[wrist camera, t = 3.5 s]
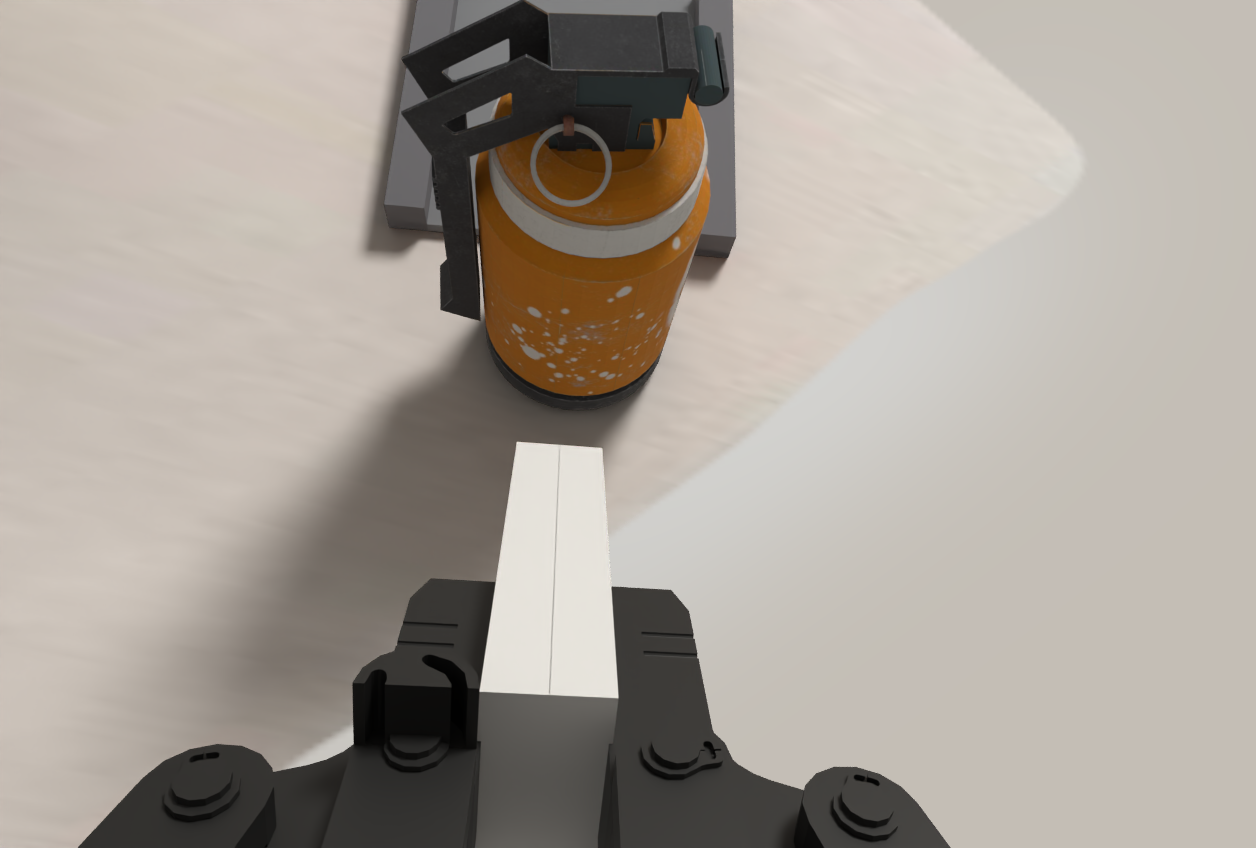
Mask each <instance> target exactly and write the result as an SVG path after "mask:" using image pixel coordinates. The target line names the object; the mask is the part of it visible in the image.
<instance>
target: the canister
mask: <svg viewBox="0 0 1256 848" xmlns="http://www.w3.org/2000/svg"><path fill="white" fill-rule="evenodd" d="M506 39H509V61H508V62H505V63H503V64H500V65H497V66H494V67H491V68H488V69H485V70H482V71H479V72H477V73H474V74H471V75H468V76H465V77H462V78H460V79H457V80H452V79H451V78H450V77H449V76H448V75H446V74H445V73H444V72H443V70H445V69H447V68H449V67H451V66H453V65H455V64H457V63H459V62H461V61H463V60H465V59H467V58H469V57H471V56H473V55H475V54H477V53H479V52H482V51H484V50H486V49H488V48H490V47H492V46H494V45H496V44H498V43H500V42H502V41H504V40H506ZM402 61H403V62H404V64H405V65H406V67H407V68H408V70H409V71H410V73H411V74H412V76H413V77H414V79H415V80H416V82H417V83H418V85H419V86H420V88H421V89H422V91H423V92H424V94H425V95H426V97H427V98H428V99H427V100H425V101H423V102H420V103H418V104H416V105H414V106H412V107H409V108H407V109H405V110H403V111H401V114H402V116H403V117H404V118H405V120H406V121H407V123H408V124H409V125H410V127H411V128H412V130H413V131H414V132H415V134H416V135H417V136H418V138H419V139H420V141H421V142H422V143H423V145H424V146H425V148H426V149H427V150H428V152H429V153H430V154H431V156H432V181H433V188H434V195H435V202H436V209H437V210H440V212H441V220H442V227H443V234H444V241H445V248H446V256H447V260H446V261H445V262H444V263H443V264H442V265H441V266H440V299H441V310H443V311H446V312H450V313H453V314H457V315H460V316H464V317H468V318H471V319H475V320H478V321H481V319H480V278H479V266H478V253H477V240H476V228H475V215H474V203H473V190H472V178H471V165H470V157H471V156H474V155H476V154H479V155H478V159H477V162H476V171H475V189H476V202H477V216H478V229H479V243H480V256H481V270H482V283H483V297H484V310H485V323H486V334H487V343H488V346H489V349H490V353H491V355H492V357H493V359H494V361H495V363H496V365H497V367H498V369H499V370H500V371H501V373H502V374H503V375H504V377H505V378H506V379H507V380H508V381H509V382H510V383H511V384H512V385H513V386H514V387H515V388H517V389H518V390H519V391H521V392H522V393H523V394H525V395H526V396H528V397H530V398H532V399H534V400H536V401H538V402H540V403H543V404H546V405H549V406H552V407H556V408H562V409H567V410H588V409H596V408H600V407H604V406H608V405H611V404H613V403H616V402H618V401H620V400H623V399H624V398H626V397H627V396H629V395H631V394H632V393H634V392H635V391H636V390H637V389H638V388H639V387H641V386H642V385H643V384H644V383H645V382H646V380H647V379H648V378H649V377H650V375H651V374H652V373H653V371H654V369H655V367H656V366H657V364H658V362H659V359H660V356H661V353H662V350H663V347H664V344H665V341H666V338H667V335H668V332H669V329H670V326H671V323H672V320H673V317H674V313H675V310H676V307H677V304H678V301H679V298H680V295H681V292H682V289H683V286H684V283H685V280H686V277H687V274H688V271H689V268H690V265H691V262H692V259H693V256H694V253H695V250H696V247H697V244H698V240H699V237H700V234H701V231H702V228H703V225H704V222H705V219H706V216H707V213H708V210H709V203H710V196H711V195H710V179H709V175H708V170H707V166H706V164H707V157H708V138H707V134H706V130H705V125H704V123H703V120H702V118H701V116H700V113H699V111H698V109H697V107H696V105H698V106H713V105H716V104H718V103H720V102H722V101H723V100H724V99H725V98H726V97H727V96H728V94H729V90H730V89H729V81H728V75H727V69H726V62H725V56H724V49H723V43H722V37H721V32H716V38H714V32H713V30H712V28H710V27H709V26H706V25H699V26H696V27H693V24H692V17H691V15H690V14H689V13H688V12H667V11H661V12H660V13H659V14H658V15H657V16H654V15H617V14H580V13H548V12H546V11H544V10H542V9H541V8H539V7H537V6H536V5H534V4H532V3H530V2H529V1H527V0H519V1H517V2H515V3H513V4H511V5H509V6H507V7H505V8H503V9H501V10H499V11H497V12H495V13H493V14H491V15H489V16H487V17H485V18H482V19H480V20H478V21H476V22H474V23H472V24H470V25H468V26H466V27H464V28H462V29H460V30H458V31H456V32H453V33H451V34H449V35H447V36H445V37H443V38H441V39H439V40H437V41H435V42H433V43H431V44H429V45H427V46H424V47H422V48H420V49H418V50H416V51H414V52H412V53H410V54H408V55H406V56H404V57H402ZM496 99H497V101H496V103H495V105H494V108H493V110H492V114H491V117H490V121H489V122H486V123H483V124H480V125H477V126H474V127H471V128H468V127H467V115H466V113H468V112H470V111H472V110H474V109H476V108H478V107H480V106H483V105H485V104H487V103H489V102H491V101H493V100H496Z"/></svg>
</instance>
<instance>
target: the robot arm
mask: <svg viewBox="0 0 1256 848" xmlns="http://www.w3.org/2000/svg"><path fill="white" fill-rule="evenodd" d="M609 560H610V559H609V544H608V528H607V513H606V498H605V482H604V467H603V452H602V448H596V447H582V446H569V445H555V444H541V443H527V442H517V444H516V451H515V458H514V464H513V471H512V478H511V485H510V491H509V498H508V505H507V511H506V518H505V525H504V531H503V538H502V545H501V551H500V558H499V565H498V571H497V578H496V582H482V581H465V580H448V579H430V580H429V581H428V582H427V583H426V584H425V585H424V586H423V587H422V588H420V589H419V590H418V591H417V592H416V593H415V594H414V595H413V596H412V597H411V598H410V601H409V604H408V608H407V611H406V614H405V618H404V621H403V626H402V628H401V631H400V634H399V638H398V643H397V646H396V648H395V651H394V652H391V653H388V654H384V655H381V656H379V657H378V658H376V659H375V660H373V661H372V662H370V663H369V664H367V665H366V666H364V667H363V668H362V669H361V671H360V672H359V674H358V675H357V677H356V679H355V680H354V682H353V732H354V744H353V745H352V746H351V747H349V748H348V749H347V750H345V751H344V752H342V753H340V754H337V755H335V756H333V757H331V758H329V759H327V760H324V761H320V762H317V763H313V764H310V765H306V766H301V767H296V768H291V769H286V770H281V771H276V772H273V770H272V767H271V766H270V765H269V763H268V762H267V761H266V760H265V759H264V757H263V756H262V755H261V754H259V753H257V752H255V751H252V750H250V749H248V748H245V747H243V746H236V745H221V744H215V745H210V746H205V747H200V748H194V749H190V750H188V751H185V752H183V753H181V754H179V755H176V756H174V757H172V758H170V759H167V760H165V761H164V762H162V763H161V764H160V765H159V766H157V767H156V768H155V769H153V770H152V771H151V772H150V773H148V774H147V775H146V776H145V777H143V778H142V780H141V781H140V782H139V783H138V784H137V785H136V786H135V787H134V788H133V789H132V790H131V791H130V792H129V793H128V794H127V796H126V797H125V798H124V799H123V800H122V801H121V802H120V803H119V804H118V805H117V806H116V807H115V808H114V809H113V810H112V812H111V813H110V814H109V815H108V816H107V817H106V818H105V819H104V820H103V821H102V822H101V823H100V824H99V825H98V826H97V828H96V829H95V830H94V831H93V832H92V833H91V834H90V835H89V836H88V837H87V838H86V839H85V840H84V841H83V842H82V844H81V845H80V846H79V847H78V848H950V846H949V845H948V844H947V842H946V841H945V840H944V838H943V837H942V836H941V834H940V833H939V832H938V830H937V829H936V827H935V826H934V825H933V824H932V822H931V821H930V820H929V818H928V817H927V815H926V814H925V813H924V811H923V810H922V809H921V807H920V806H919V805H918V803H917V802H916V801H915V800H914V799H913V798H912V797H911V796H910V795H909V794H908V793H907V792H906V791H905V790H904V789H903V788H902V787H901V786H899V785H897V784H896V783H894V782H892V781H891V780H889V779H887V778H885V777H884V776H882V775H880V774H878V773H874V772H871V771H867V770H864V769H861V768H857V767H833V768H830V769H827V770H824V771H822V772H819V773H816V774H815V775H814V777H813V778H812V779H811V780H810V781H809V782H808V783H807V784H806V785H805V789H804V790H801V789H798V788H794V787H791V786H787V785H784V784H781V783H778V782H774V781H771V780H768V779H766V778H763V777H761V776H758V775H755V774H753V773H751V772H750V771H748V770H746V769H745V768H743V767H741V766H740V765H738V764H737V763H736V762H734V760H733V759H732V757H731V755H730V753H729V751H728V749H727V747H726V745H725V743H724V742H723V741H722V740H721V739H720V738H719V737H718V736H717V735H716V734H714V732H713V730H712V725H711V719H710V715H709V710H708V704H707V699H706V694H705V689H704V684H703V679H702V674H701V669H700V664H699V659H698V658H697V650H696V644H695V639H693V629H692V624H691V619H690V614H689V611H688V610H687V608H686V607H685V606H684V605H683V604H682V602H681V601H680V600H679V599H678V598H677V596H676V595H675V594H674V593H673V592H672V591H671V590H662V589H644V588H627V587H611V575H610V561H609Z"/></svg>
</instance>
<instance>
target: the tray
mask: <svg viewBox="0 0 1256 848" xmlns="http://www.w3.org/2000/svg"><path fill="white" fill-rule="evenodd" d="M517 1H519V0H417V5H416V11H415V17H414V23H413V29H412V36H411V42H410V48H409V54H410V53H412V52H414V51H416V50H418V49H420V48H422V47H424V46H427V45H429V44H431V43H433V42H435V41H437V40H439V39H441V38H443V37H445V36H447V35H449V34H451V33H453V32H456V31H458V30H460V29H462V28H464V27H466V26H468V25H470V24H472V23H474V22H476V21H478V20H480V19H482V18H485V17H487V16H489V15H491V14H493V13H495V12H497V11H499V10H501V9H503V8H505V7H507V6H509V5H511V4H513V3H515V2H517ZM527 1H529V2H530V3H532V4H534V5H536V6H537V7H539V8H541V9H542V10H544V11H546V12H548V13H580V14H617V15H654V16H657V15H658V14H659V13H660V12H661V11H667V12H688V13H689V14H690V15H691V17H692V24H693V27H696V26H699V25H706V26H709V27H710V28H712V30H713V32H714V38H716V32H721V37H722V43H723V49H724V56H725V62H726V69H727V75H728V81H729V89H730V90H729V94H728V96H727V97H726V98H725V99H724V100H723V101H722V102H720V103H718V104H716V105H713V106H698V105H696V107H697V109H698V111H699V113H700V116H701V118H702V120H703V123H704V125H705V130H706V134H707V138H708V157H707V164H706V166H707V170H708V175H709V179H710V195H711V196H710V203H709V210H708V213H707V216H706V219H705V222H704V225H703V228H702V231H701V234H700V237H699V240H698V244H697V247H696V250H695V253H694V255H699V256H710V257H721V258H728V256H729V254H730V251H731V249H732V246H733V244H734V241H735V239H736V200H735V132H734V63H733V0H527ZM508 61H509V39H506V40H504V41H502V42H500V43H498V44H496V45H494V46H492V47H490V48H488V49H486V50H484V51H482V52H479V53H477V54H475V55H473V56H471V57H469V58H467V59H465V60H463V61H461V62H459V63H457V64H455V65H453V66H451V67H449V68H447V69H445V70H443V72H444V73H445V74H446V75H448V76H449V77H450V78H451V79H452V80H457V79H460V78H462V77H465V76H468V75H471V74H474V73H477V72H479V71H482V70H485V69H488V68H491V67H494V66H497V65H500V64H503V63H505V62H508ZM427 99H428V98H427V97H426V95H425V94H424V92H423V91H422V89H421V88H420V86H419V85H418V83H417V82H416V80H415V79H414V77H413V76H412V74H411V73H410V71H409V70H408V68H407V67H406V72H405V78H404V84H403V90H402V97H401V103H400V109H399V115H398V121H397V127H396V133H395V139H394V145H393V151H392V158H391V164H390V170H389V176H388V182H387V188H386V194H385V200H384V207H385V211H386V216H387V220H388V224H389V227H392V228H403V229H414V230H425V231H436V232H443V227H442V220H441V212H440V210H437V209H436V202H435V195H434V188H433V181H432V156H431V154H430V153H429V152H428V150H427V149H426V148H425V146H424V145H423V143H422V142H421V141H420V139H419V138H418V136H417V135H416V134H415V132H414V131H413V130H412V128H411V127H410V125H409V124H408V123H407V121H406V120H405V118H404V117H403V116H402V114H401V111H403V110H405V109H407V108H409V107H412V106H414V105H416V104H418V103H420V102H423V101H425V100H427ZM496 101H497V99H496V100H493V101H491V102H489V103H487V104H485V105H483V106H480V107H478V108H476V109H474V110H472V111H470V112H468V113H466V115H467V127H468V128H471V127H474V126H477V125H480V124H483V123H486V122H489V121H490V117H491V114H492V110H493V108H494V105H495V103H496ZM478 155H479V154H476V155H474V156H471V157H470V165H471V178H472V190H473V203H474V215H475V228H476V235H479V229H478V216H477V202H476V189H475V171H476V162H477V159H478Z"/></svg>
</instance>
